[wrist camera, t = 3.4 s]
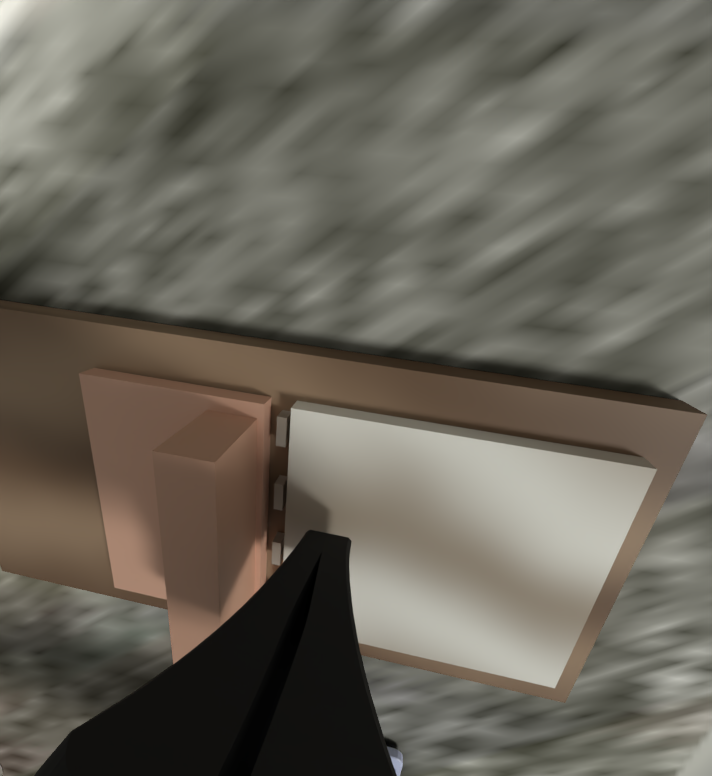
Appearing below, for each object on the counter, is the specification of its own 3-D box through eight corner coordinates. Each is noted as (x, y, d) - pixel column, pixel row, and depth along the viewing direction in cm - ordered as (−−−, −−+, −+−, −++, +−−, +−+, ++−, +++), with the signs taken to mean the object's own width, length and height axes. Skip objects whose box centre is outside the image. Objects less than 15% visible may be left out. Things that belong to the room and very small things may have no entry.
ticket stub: (265, 607, 15) (227, 694, 12) (125, 575, 15) (57, 650, 12) (271, 396, 11) (222, 445, 9) (94, 367, 12) (-8, 403, 9)
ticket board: (555, 674, 15) (571, 721, 13) (24, 553, 17) (-13, 581, 16) (681, 400, 11) (724, 424, 9) (-47, 292, 13) (-106, 298, 12)
